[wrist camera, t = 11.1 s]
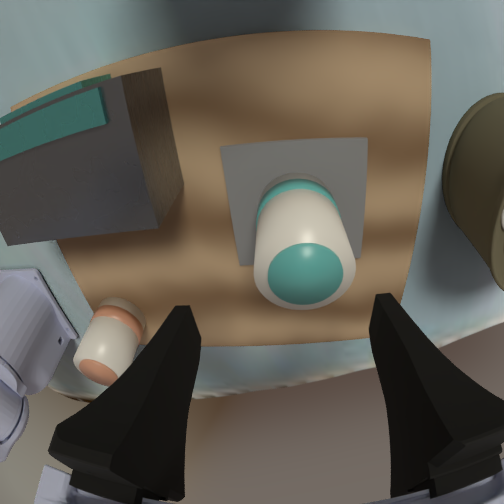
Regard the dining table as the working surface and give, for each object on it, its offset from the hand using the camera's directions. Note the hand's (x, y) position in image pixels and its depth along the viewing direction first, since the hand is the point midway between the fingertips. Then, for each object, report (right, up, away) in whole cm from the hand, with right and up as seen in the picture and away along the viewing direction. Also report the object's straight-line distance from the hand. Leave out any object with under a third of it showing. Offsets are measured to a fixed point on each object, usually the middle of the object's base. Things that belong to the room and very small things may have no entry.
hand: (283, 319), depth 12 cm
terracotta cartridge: (-12, -3, +13) cm, 18 cm away
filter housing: (-11, +9, +5) cm, 15 cm away
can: (+17, +9, +5) cm, 19 cm away
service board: (-3, +4, +9) cm, 10 cm away
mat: (+2, +5, +6) cm, 8 cm away
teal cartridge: (+1, +5, +6) cm, 8 cm away
